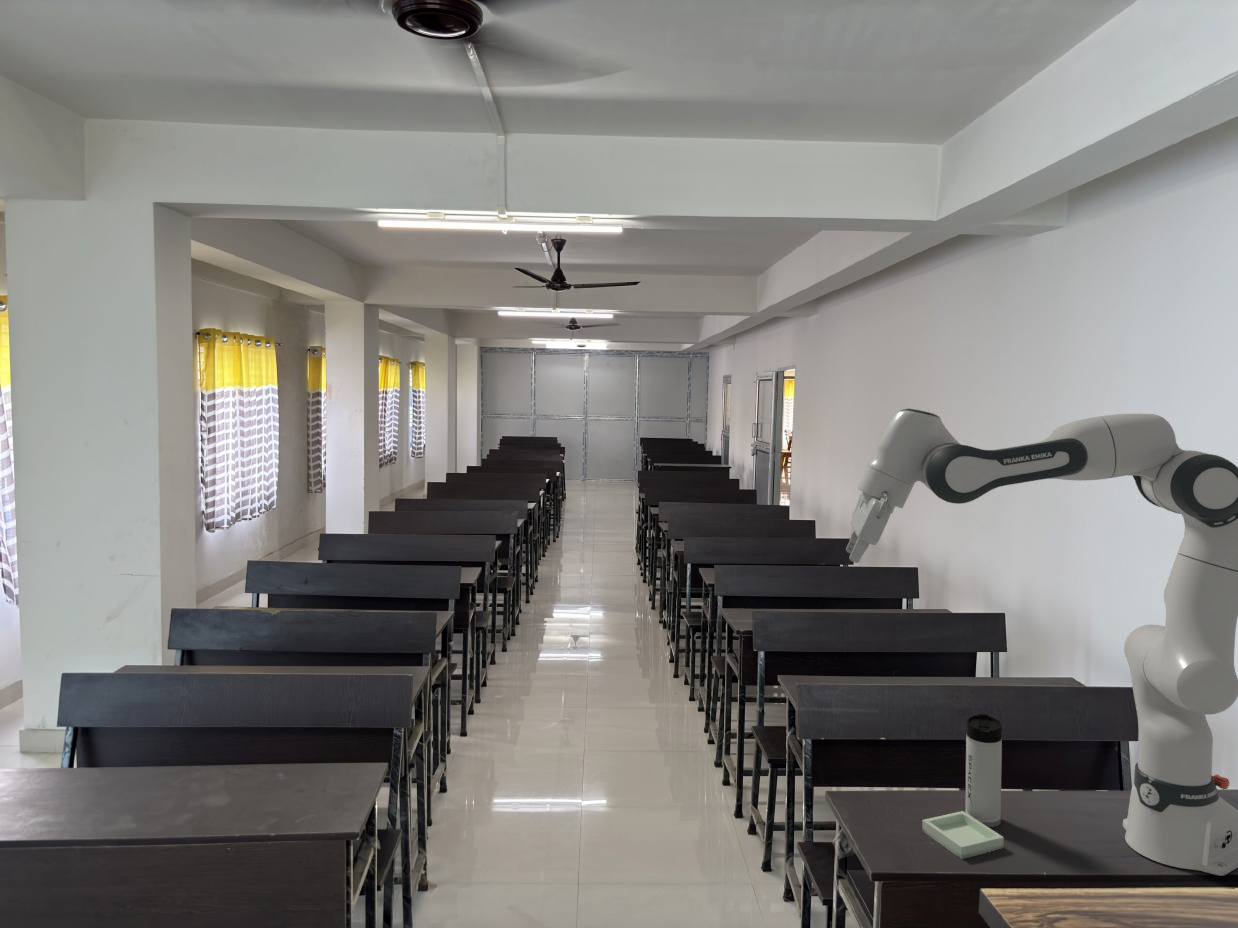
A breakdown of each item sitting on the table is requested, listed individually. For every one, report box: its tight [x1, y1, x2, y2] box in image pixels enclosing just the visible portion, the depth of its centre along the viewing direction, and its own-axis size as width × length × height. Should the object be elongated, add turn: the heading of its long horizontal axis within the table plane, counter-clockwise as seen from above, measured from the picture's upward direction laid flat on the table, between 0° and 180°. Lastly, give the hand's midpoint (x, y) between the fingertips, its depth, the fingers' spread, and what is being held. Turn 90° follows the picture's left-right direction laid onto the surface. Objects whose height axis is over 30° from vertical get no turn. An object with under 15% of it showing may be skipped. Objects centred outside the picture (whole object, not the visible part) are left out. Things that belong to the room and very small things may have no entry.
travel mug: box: [964, 712, 1003, 828], centre depth 163 cm, size 6×7×20 cm
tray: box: [921, 810, 1005, 860], centre depth 157 cm, size 9×10×2 cm
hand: (851, 556), depth 158 cm, fingers open, 8 cm apart
